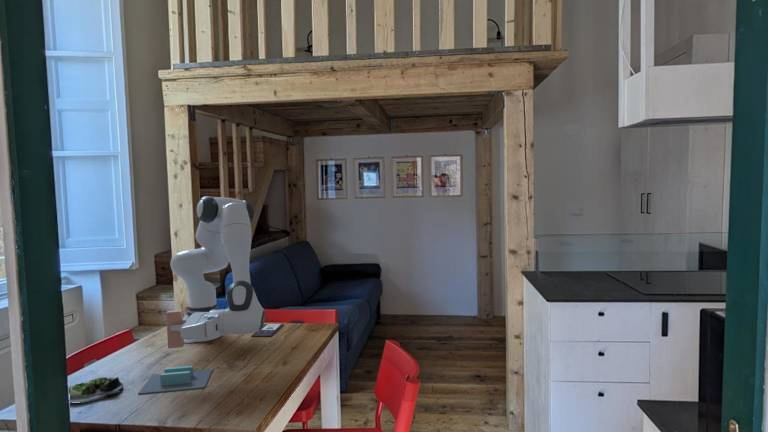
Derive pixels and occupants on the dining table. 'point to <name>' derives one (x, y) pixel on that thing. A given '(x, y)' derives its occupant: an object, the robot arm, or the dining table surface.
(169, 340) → the salmon orange block
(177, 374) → the slotted rack
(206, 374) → the mat
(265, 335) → the chocolate bar
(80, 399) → the salad plate
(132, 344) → the dining table surface
